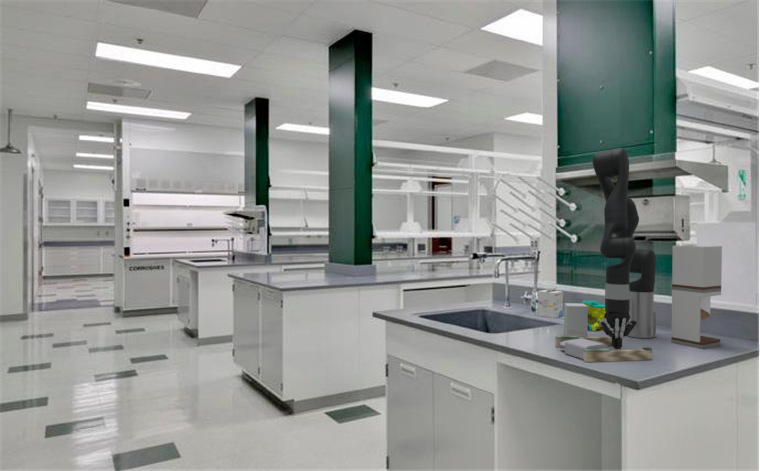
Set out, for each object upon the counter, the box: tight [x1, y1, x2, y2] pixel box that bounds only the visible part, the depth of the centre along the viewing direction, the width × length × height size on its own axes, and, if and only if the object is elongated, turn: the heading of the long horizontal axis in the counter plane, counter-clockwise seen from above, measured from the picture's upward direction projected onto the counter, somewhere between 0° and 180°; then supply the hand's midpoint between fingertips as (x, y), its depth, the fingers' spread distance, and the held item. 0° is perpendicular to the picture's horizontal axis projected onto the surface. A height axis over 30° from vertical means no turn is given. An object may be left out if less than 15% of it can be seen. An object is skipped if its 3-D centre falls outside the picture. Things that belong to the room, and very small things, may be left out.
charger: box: [559, 339, 608, 360], centre depth 165 cm, size 5×9×15 cm
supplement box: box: [563, 302, 589, 337], centre depth 188 cm, size 7×7×13 cm
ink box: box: [537, 286, 564, 319], centre depth 234 cm, size 9×8×13 cm
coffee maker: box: [670, 244, 723, 350], centre depth 179 cm, size 11×11×35 cm
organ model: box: [580, 300, 606, 332], centre depth 207 cm, size 15×12×13 cm
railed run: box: [554, 335, 653, 363], centre depth 166 cm, size 22×20×4 cm
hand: (616, 348), depth 167 cm, fingers closed
